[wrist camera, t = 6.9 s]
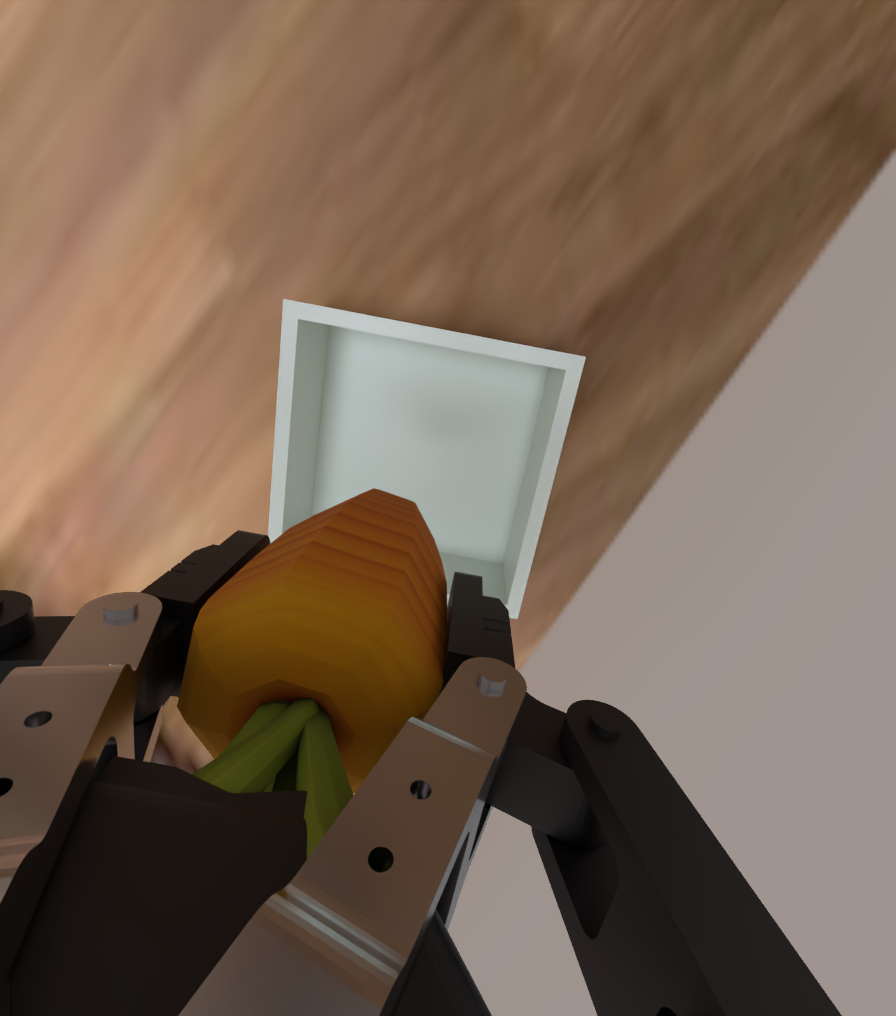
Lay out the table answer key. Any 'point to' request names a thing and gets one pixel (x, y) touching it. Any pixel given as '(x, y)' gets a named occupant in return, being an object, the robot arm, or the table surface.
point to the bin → (423, 433)
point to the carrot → (319, 655)
